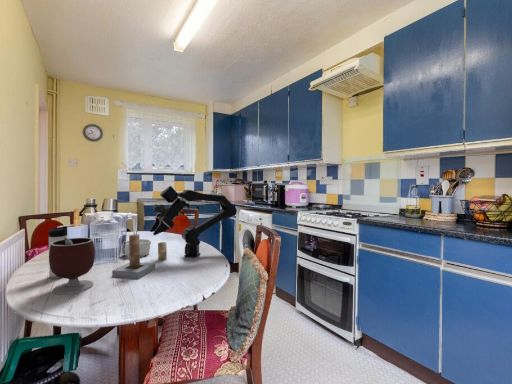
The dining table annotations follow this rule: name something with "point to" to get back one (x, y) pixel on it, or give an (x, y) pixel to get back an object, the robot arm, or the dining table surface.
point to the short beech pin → (162, 251)
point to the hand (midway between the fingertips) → (152, 233)
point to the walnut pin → (134, 251)
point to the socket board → (133, 270)
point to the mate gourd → (72, 263)
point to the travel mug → (56, 235)
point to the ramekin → (143, 247)
